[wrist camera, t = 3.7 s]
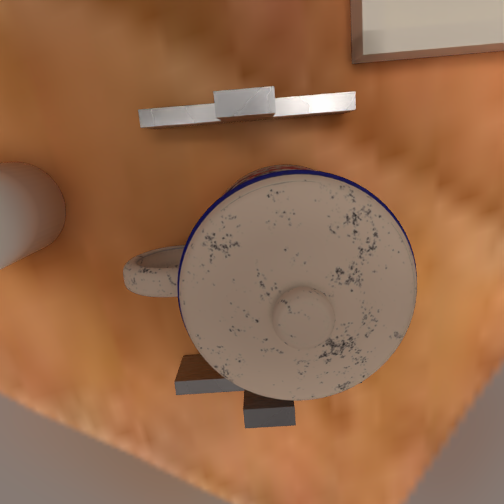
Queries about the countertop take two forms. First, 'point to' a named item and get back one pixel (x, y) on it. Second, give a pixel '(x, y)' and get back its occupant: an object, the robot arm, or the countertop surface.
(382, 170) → the countertop surface
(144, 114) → the clip cradle
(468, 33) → the tray
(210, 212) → the teacup with lid
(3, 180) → the jar
